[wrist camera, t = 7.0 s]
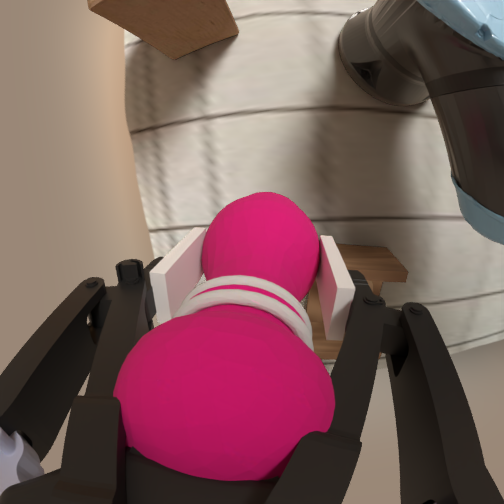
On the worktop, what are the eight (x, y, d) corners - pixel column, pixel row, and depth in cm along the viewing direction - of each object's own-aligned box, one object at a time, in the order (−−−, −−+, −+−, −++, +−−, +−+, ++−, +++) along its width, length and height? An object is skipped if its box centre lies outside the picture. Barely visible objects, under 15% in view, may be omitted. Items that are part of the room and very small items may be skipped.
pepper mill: (245, 286, 23) (171, 544, 5) (204, 209, 21) (-12, 435, 3) (327, 254, 21) (389, 546, 3) (289, 169, 19) (329, 552, 1)
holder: (314, 242, 38) (322, 267, 30) (386, 247, 37) (408, 272, 29) (303, 324, 43) (306, 358, 35) (367, 325, 42) (379, 358, 34)
